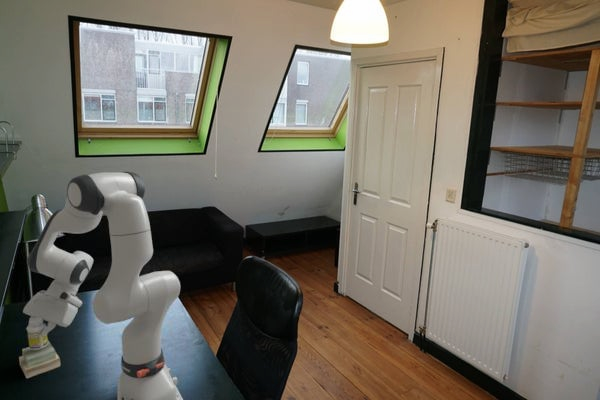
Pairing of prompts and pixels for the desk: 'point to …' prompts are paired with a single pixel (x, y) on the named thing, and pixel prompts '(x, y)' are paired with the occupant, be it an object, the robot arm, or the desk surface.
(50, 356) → the two-tone square platform
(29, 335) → the supplement bottle
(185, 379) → the desk surface
